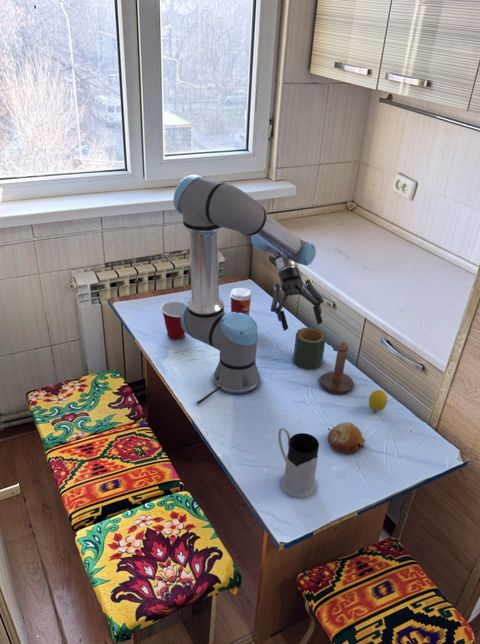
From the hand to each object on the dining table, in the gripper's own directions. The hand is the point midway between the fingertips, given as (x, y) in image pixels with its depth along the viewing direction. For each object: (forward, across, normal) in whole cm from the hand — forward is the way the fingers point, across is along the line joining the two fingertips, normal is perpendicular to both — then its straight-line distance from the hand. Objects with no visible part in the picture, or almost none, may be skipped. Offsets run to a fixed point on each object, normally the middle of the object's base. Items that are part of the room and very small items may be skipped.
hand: (303, 326), depth 197 cm
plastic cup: (-10, +39, -25) cm, 47 cm away
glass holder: (+46, +31, +31) cm, 64 cm away
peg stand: (+23, -3, +8) cm, 24 cm away
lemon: (+35, -8, +19) cm, 40 cm away
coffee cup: (-9, +14, -25) cm, 30 cm away
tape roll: (+12, 0, -4) cm, 13 cm away
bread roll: (+42, +10, +26) cm, 50 cm away
